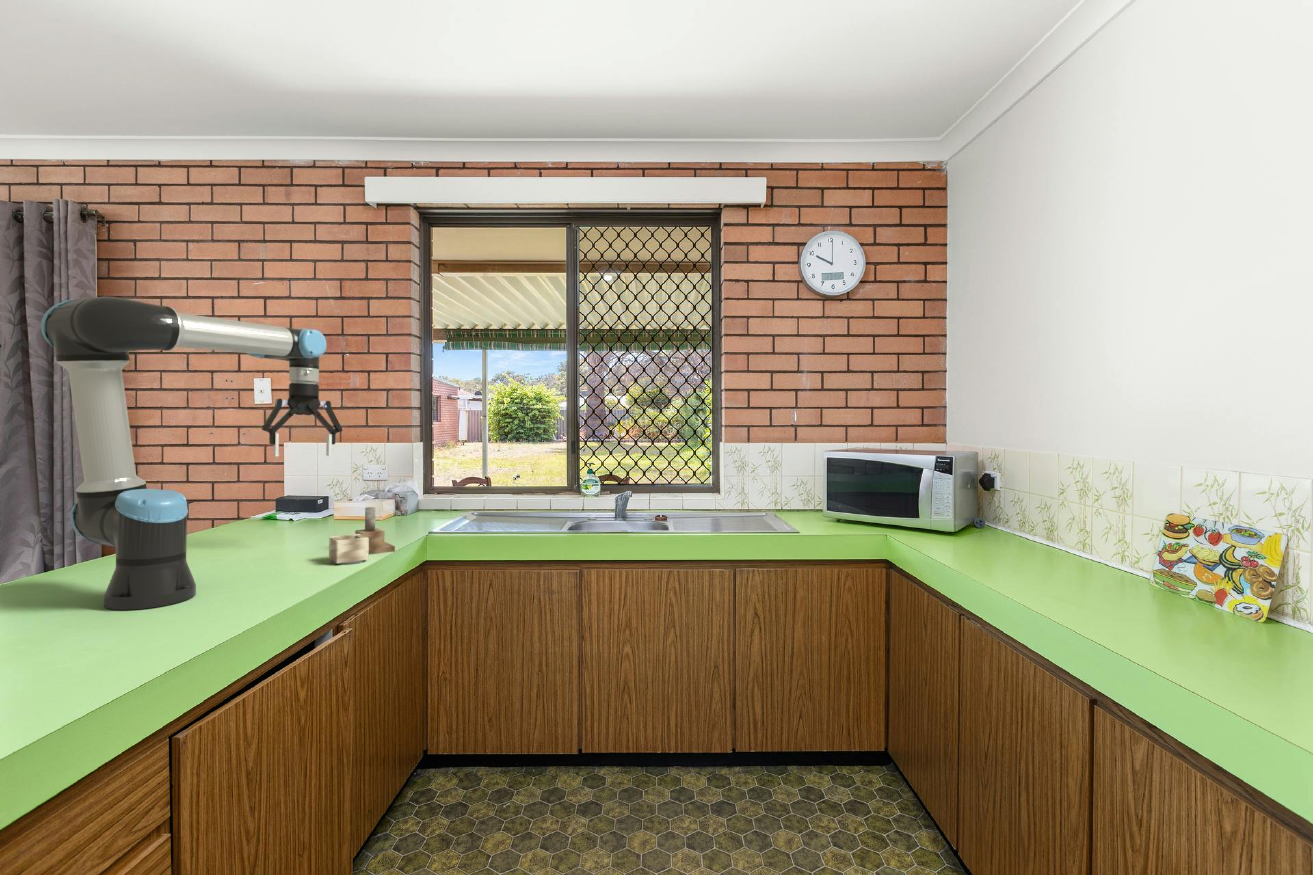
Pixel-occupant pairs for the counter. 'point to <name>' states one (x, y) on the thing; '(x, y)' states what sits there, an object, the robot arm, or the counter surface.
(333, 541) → the birch collar
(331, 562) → the rubber coaster
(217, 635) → the counter surface
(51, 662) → the counter surface
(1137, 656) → the counter surface
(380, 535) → the post stand
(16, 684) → the counter surface
